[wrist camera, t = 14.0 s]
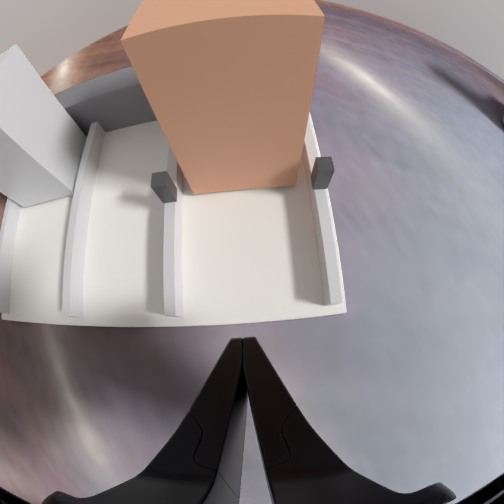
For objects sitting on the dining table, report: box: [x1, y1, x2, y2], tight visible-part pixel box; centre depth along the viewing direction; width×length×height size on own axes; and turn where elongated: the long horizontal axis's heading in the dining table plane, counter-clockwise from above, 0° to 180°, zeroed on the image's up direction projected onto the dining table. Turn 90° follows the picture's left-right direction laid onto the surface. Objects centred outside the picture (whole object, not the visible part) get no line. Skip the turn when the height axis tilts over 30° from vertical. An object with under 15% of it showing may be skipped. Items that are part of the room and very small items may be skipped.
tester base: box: [0, 67, 347, 327], centre depth 16 cm, size 17×25×5 cm
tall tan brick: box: [121, 0, 325, 195], centre depth 12 cm, size 5×6×11 cm
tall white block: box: [0, 44, 87, 207], centre depth 13 cm, size 5×6×11 cm
